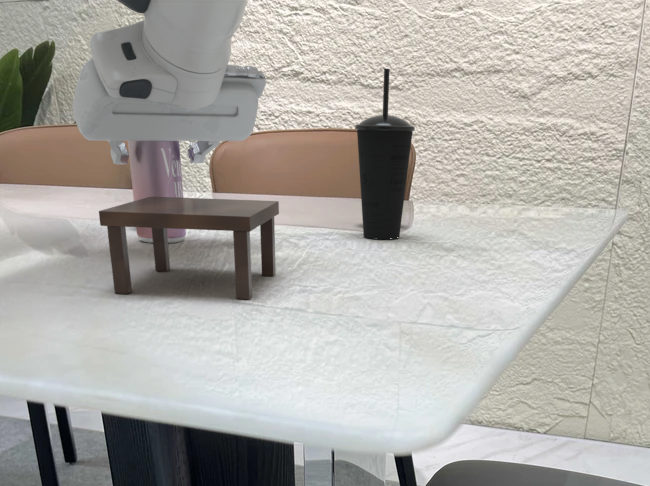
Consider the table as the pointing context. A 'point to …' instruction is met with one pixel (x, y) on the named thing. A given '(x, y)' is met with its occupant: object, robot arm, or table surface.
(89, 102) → the robot arm
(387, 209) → the drinking cup
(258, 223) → the side table
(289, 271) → the table surface
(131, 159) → the beverage can
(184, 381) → the table surface
